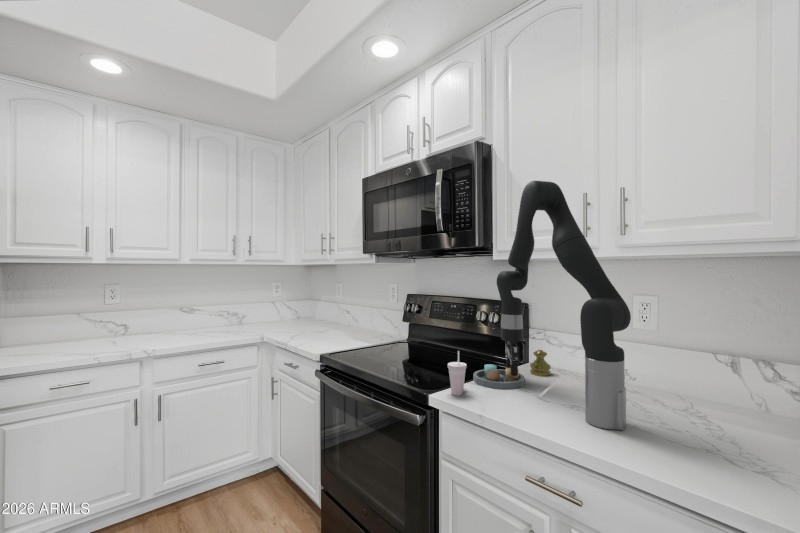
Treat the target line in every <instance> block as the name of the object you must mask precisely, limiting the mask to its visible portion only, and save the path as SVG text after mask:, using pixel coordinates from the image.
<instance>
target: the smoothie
mask: <svg viewBox="0 0 800 533" xmlns="http://www.w3.org/2000/svg"><path fill="white" fill-rule="evenodd" d="M447 368H448V374H449V382H450V383H449V384H450V390H451V395H454V396H462V395H463V394H464V389H465V388H464V387H465V386H464V385H465V377H466V369H467V368H468V366H467V363H465V362H461V361H460V350H457V361H450V362H448V363H447Z"/></svg>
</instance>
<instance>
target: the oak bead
mask: <svg viewBox="0 0 800 533" xmlns="http://www.w3.org/2000/svg"><path fill="white" fill-rule="evenodd" d="M505 370H506V382H512V381H517V380H519V375H517V376H512V375H511V368H507V367H506V368H505Z"/></svg>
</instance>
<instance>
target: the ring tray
mask: <svg viewBox="0 0 800 533" xmlns="http://www.w3.org/2000/svg"><path fill="white" fill-rule="evenodd" d="M497 371H499V372H500V382H496V381H490V380H487V379H486V378H484V369H479V370H476V371H474V372H473V375H472V377H473V378H472V381H473V382H474V383H475V384H476V385H479V386H481V387H485V388H490V389H495V390H496V389H497V390H513V389H519V388H522V387H523V386H525V385H526V384H525V382H526V379H525V376H524V375H523V374H521V373H520V372H518V375H519V380H517V381H512V382H506V369H502V368H501V369H500V368H499V369H497Z"/></svg>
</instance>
